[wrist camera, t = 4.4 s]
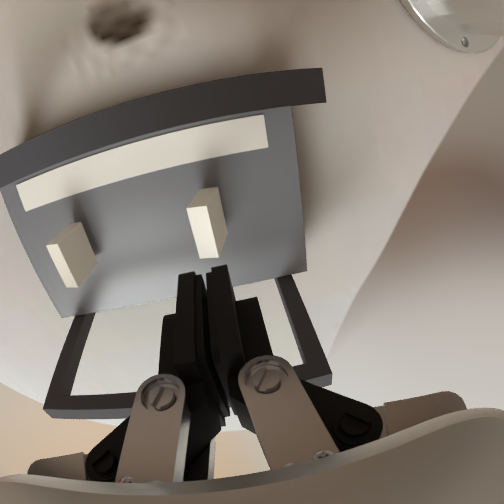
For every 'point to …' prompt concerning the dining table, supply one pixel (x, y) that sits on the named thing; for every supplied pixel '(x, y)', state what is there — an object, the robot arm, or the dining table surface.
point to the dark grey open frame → (144, 122)
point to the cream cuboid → (207, 222)
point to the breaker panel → (167, 209)
